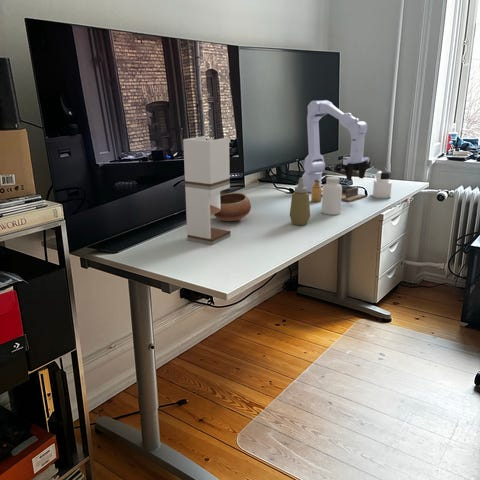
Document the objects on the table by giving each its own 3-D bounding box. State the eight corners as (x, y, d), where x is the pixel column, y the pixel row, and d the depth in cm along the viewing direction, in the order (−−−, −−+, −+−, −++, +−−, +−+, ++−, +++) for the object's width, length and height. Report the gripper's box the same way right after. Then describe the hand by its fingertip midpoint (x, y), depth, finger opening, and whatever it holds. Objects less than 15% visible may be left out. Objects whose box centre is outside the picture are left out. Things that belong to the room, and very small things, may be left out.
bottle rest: (321, 196, 233) (321, 187, 232) (338, 192, 243) (338, 183, 241) (349, 202, 222) (350, 192, 221) (366, 197, 232) (366, 187, 230)
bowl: (203, 221, 195) (203, 196, 191) (228, 212, 206) (227, 189, 203) (234, 227, 185) (234, 202, 182) (258, 218, 197) (258, 194, 194)
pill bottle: (342, 211, 207) (344, 176, 202) (337, 216, 200) (340, 180, 195) (324, 209, 210) (326, 175, 206) (319, 214, 203) (320, 178, 199)
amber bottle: (309, 201, 225) (310, 179, 222) (315, 199, 228) (316, 178, 225) (317, 202, 222) (318, 181, 219) (323, 201, 225) (324, 179, 222)
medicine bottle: (387, 194, 237) (389, 170, 233) (390, 198, 230) (392, 172, 226) (372, 194, 237) (374, 170, 234) (375, 197, 231) (377, 172, 227)
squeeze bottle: (311, 221, 192) (313, 176, 187) (307, 227, 185) (309, 180, 180) (291, 220, 195) (293, 175, 189) (287, 225, 188) (288, 179, 182)
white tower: (212, 245, 166) (209, 141, 155) (187, 240, 171) (183, 139, 160) (230, 236, 175) (229, 137, 164) (206, 231, 180) (203, 136, 170)
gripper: (351, 151, 211) (349, 182, 216) (375, 148, 219) (372, 178, 223) (340, 149, 217) (338, 179, 221) (363, 147, 224) (361, 176, 229)
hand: (355, 179), depth 222 cm, fingers open, 7 cm apart
